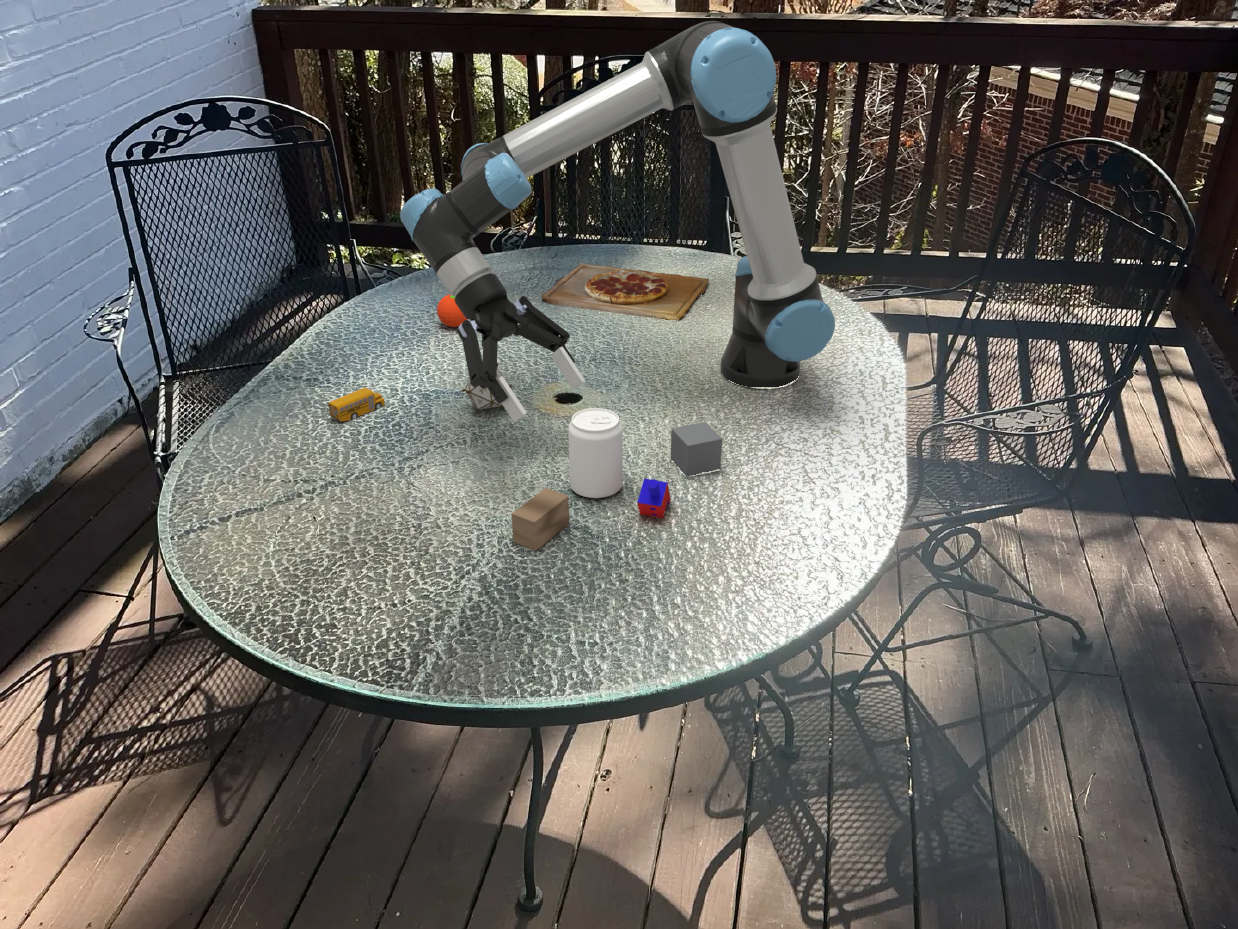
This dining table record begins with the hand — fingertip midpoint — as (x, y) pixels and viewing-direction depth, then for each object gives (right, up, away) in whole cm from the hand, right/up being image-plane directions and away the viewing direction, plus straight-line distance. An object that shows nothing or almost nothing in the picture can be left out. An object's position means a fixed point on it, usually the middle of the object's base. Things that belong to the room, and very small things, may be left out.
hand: (551, 401), depth 143 cm
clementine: (-24, +20, +58) cm, 66 cm away
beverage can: (+7, -13, +3) cm, 15 cm away
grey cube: (+23, -10, +8) cm, 26 cm away
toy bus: (-36, -1, +24) cm, 43 cm away
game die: (-13, 0, +25) cm, 29 cm away
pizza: (+12, +30, +75) cm, 82 cm away
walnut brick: (-1, -20, -8) cm, 21 cm away
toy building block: (+16, -17, -3) cm, 23 cm away
